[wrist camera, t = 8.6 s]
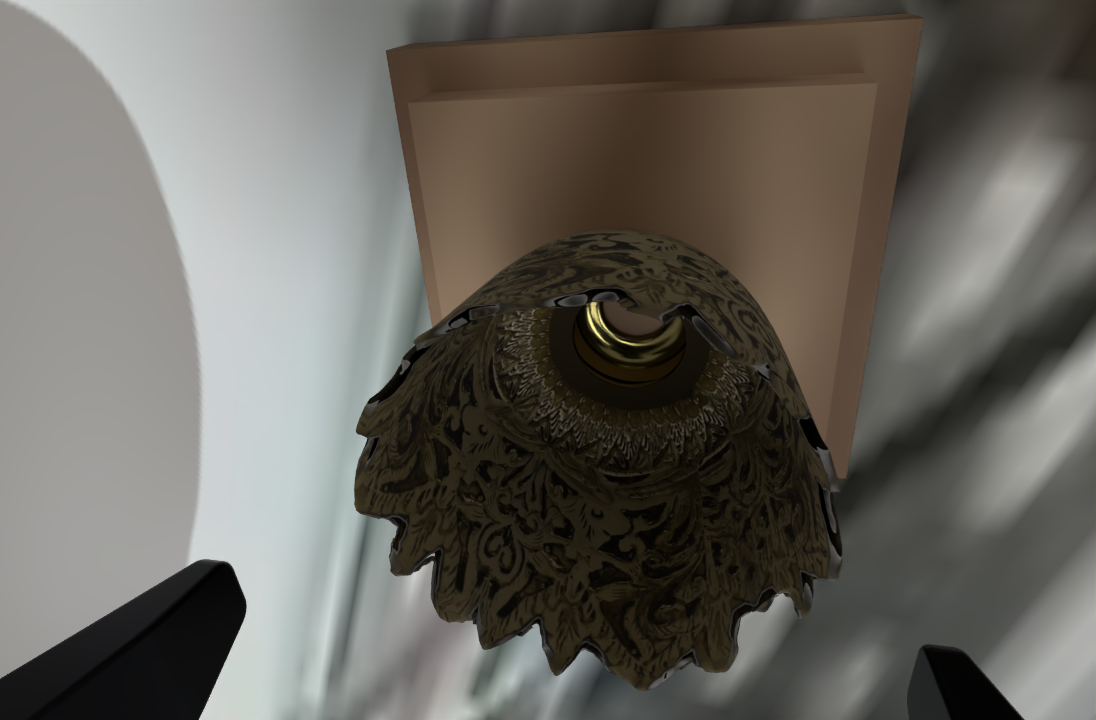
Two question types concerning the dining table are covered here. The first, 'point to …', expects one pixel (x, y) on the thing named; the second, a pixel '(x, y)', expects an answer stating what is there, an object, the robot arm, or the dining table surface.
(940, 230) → the dining table surface
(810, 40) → the plinth
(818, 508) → the cup
